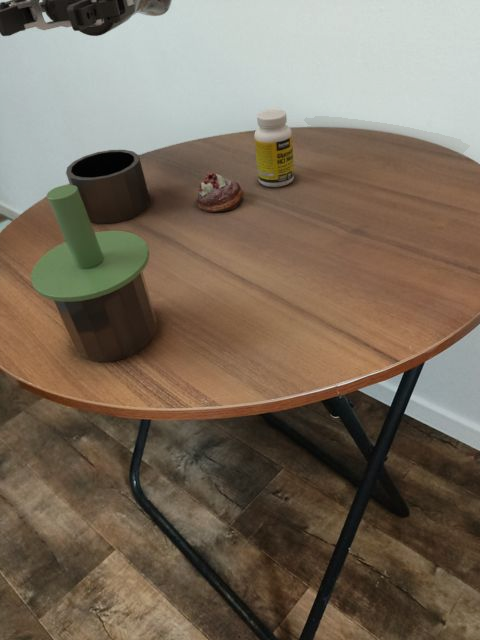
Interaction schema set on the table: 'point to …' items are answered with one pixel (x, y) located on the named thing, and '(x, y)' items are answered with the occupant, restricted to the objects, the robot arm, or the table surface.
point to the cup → (110, 322)
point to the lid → (85, 254)
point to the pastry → (218, 193)
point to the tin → (110, 185)
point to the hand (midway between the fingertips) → (35, 22)
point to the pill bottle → (274, 149)
